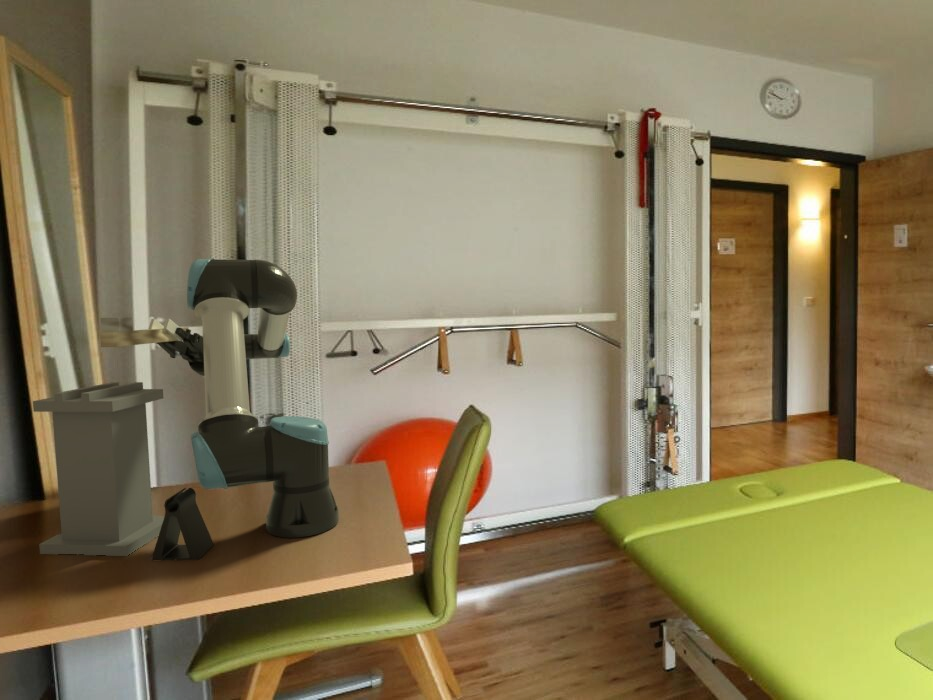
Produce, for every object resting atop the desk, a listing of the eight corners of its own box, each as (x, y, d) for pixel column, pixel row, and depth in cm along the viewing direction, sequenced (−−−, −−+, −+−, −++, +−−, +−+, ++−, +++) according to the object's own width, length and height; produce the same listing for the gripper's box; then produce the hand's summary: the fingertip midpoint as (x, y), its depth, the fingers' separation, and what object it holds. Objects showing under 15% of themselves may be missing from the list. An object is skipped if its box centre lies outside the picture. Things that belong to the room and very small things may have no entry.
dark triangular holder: (214, 546, 109) (210, 487, 108) (199, 560, 103) (195, 497, 102) (168, 546, 109) (165, 487, 108) (151, 560, 103) (147, 498, 102)
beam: (176, 339, 138) (174, 315, 138) (191, 339, 138) (189, 315, 138) (98, 347, 113) (96, 318, 112) (116, 347, 112) (115, 317, 112)
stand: (98, 523, 121) (88, 382, 119) (175, 525, 120) (167, 382, 117) (40, 554, 106) (27, 393, 104) (127, 556, 105) (116, 393, 102)
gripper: (234, 376, 148) (187, 337, 126) (177, 376, 149) (121, 338, 128) (240, 351, 151) (195, 309, 130) (184, 351, 152) (131, 310, 131)
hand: (159, 323), depth 129 cm, fingers closed on beam, 3 cm apart
